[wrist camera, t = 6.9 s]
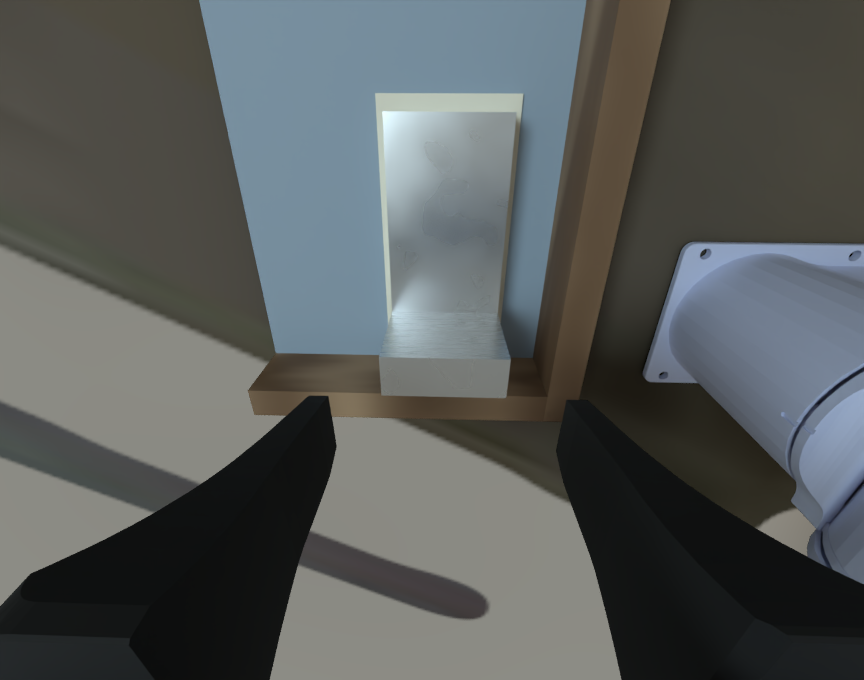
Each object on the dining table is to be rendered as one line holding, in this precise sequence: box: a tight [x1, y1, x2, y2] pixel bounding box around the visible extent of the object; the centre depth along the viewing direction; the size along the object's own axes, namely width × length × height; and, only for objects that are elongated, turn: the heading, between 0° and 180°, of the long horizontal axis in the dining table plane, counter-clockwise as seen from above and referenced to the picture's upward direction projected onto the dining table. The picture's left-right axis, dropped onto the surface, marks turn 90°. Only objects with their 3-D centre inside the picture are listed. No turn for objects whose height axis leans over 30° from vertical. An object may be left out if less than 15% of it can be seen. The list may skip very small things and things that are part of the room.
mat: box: [199, 0, 586, 358], centre depth 16 cm, size 16×26×1 cm, turn 0°
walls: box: [248, 0, 671, 422], centre depth 15 cm, size 16×26×4 cm, turn 0°
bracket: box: [379, 111, 517, 398], centre depth 16 cm, size 10×5×6 cm, turn 0°
